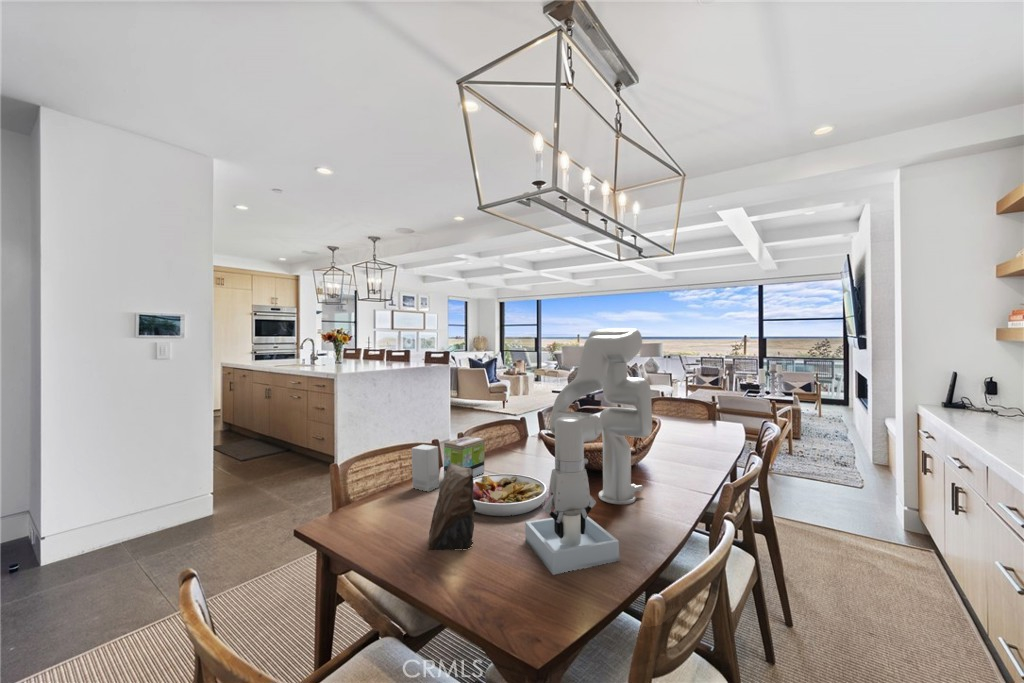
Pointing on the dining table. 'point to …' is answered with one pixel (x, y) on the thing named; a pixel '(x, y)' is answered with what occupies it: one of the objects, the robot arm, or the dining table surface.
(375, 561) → the dining table surface
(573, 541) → the canister
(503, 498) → the bowl
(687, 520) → the dining table surface
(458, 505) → the owl
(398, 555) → the dining table surface
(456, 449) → the tea box
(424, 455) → the skincare box
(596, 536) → the tote
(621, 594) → the dining table surface
